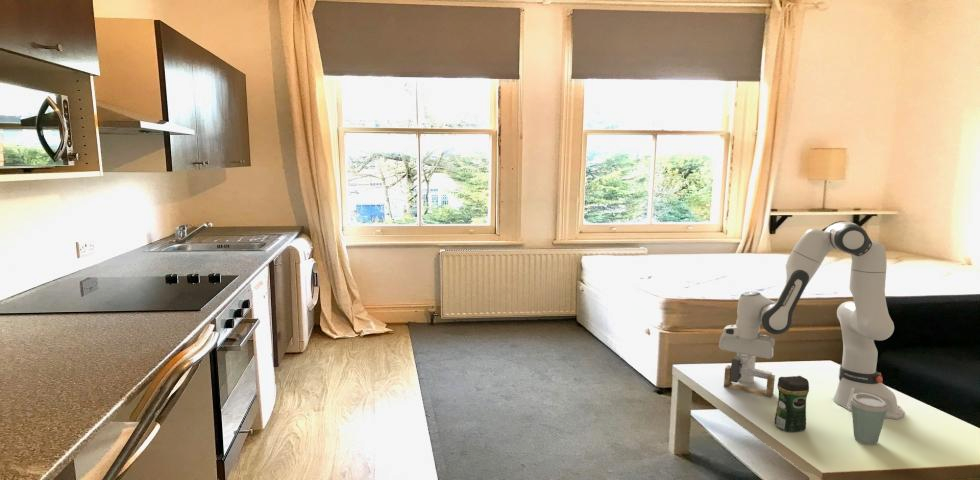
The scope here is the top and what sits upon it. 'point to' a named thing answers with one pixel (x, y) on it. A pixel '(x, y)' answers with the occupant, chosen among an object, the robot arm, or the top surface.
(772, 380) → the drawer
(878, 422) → the disposable coffee cup
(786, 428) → the coffee jar
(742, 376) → the cylindrical container
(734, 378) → the collar
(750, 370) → the light grey long bar
